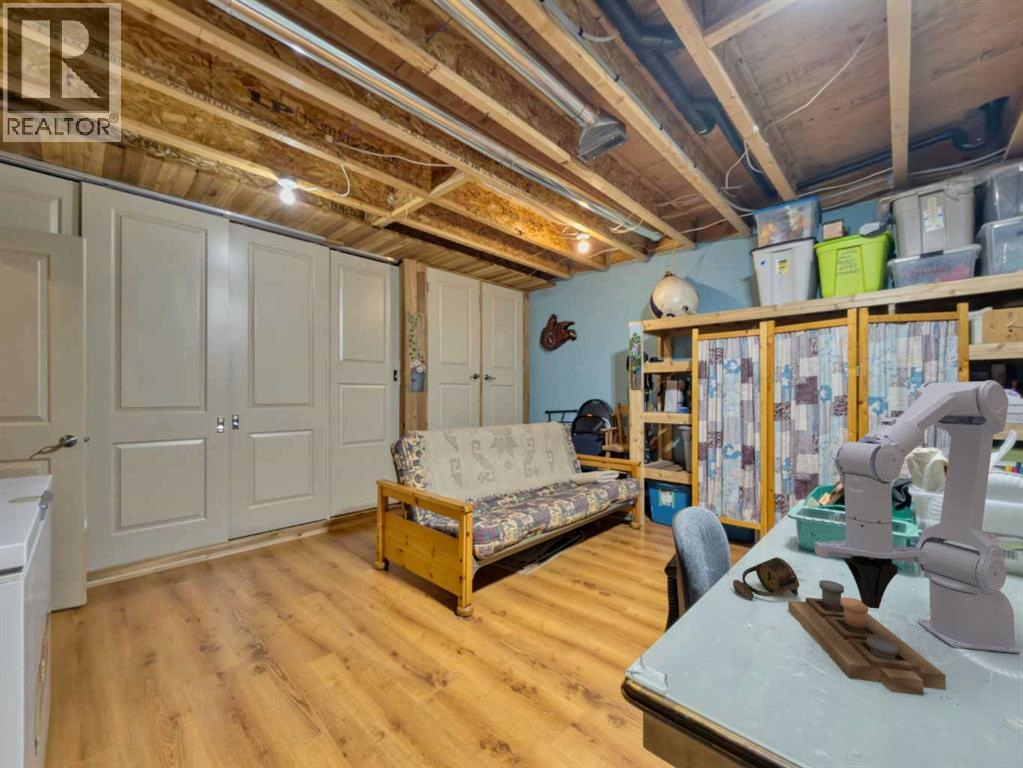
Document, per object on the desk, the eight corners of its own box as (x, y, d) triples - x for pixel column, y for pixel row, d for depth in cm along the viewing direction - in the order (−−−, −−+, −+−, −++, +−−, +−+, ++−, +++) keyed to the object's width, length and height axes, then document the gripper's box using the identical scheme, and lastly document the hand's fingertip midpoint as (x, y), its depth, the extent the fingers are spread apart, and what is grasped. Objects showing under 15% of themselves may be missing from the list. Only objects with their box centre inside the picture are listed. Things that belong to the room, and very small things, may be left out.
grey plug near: (888, 660, 65) (887, 637, 65) (905, 675, 62) (904, 651, 62) (861, 657, 66) (861, 634, 66) (876, 671, 62) (876, 648, 63)
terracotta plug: (860, 618, 72) (859, 598, 72) (873, 630, 69) (873, 608, 69) (836, 616, 73) (836, 596, 73) (848, 627, 69) (848, 606, 70)
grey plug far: (837, 599, 79) (836, 581, 79) (848, 609, 76) (848, 589, 76) (815, 597, 80) (815, 579, 80) (825, 607, 76) (825, 587, 76)
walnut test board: (853, 612, 81) (852, 597, 81) (957, 699, 58) (957, 678, 58) (784, 605, 84) (783, 591, 84) (857, 687, 60) (857, 666, 60)
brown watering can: (814, 581, 83) (790, 552, 92) (744, 570, 85) (728, 543, 94) (806, 613, 84) (783, 581, 94) (738, 602, 86) (722, 571, 96)
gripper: (902, 514, 70) (904, 597, 70) (804, 509, 73) (806, 590, 72) (936, 526, 63) (939, 619, 63) (827, 521, 66) (829, 610, 65)
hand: (870, 605), depth 67 cm, fingers closed
